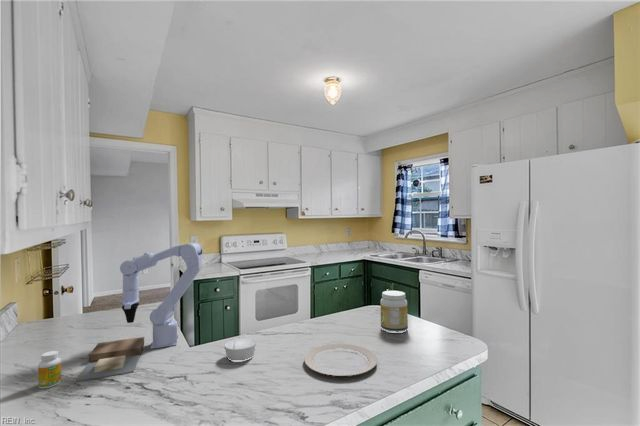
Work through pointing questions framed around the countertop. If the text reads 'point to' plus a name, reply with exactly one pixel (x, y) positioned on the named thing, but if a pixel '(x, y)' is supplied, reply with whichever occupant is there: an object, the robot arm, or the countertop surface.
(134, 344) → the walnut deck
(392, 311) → the supplement tub
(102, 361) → the birch tile
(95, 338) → the countertop surface
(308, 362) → the plate
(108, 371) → the grey flat slab
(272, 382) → the countertop surface
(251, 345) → the ramekin
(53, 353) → the supplement bottle
